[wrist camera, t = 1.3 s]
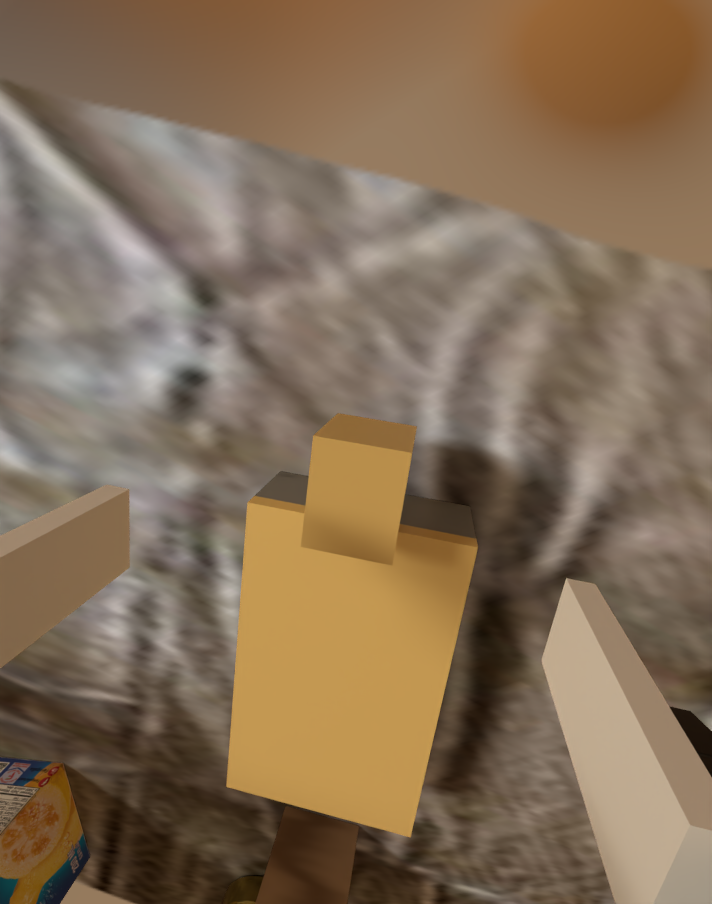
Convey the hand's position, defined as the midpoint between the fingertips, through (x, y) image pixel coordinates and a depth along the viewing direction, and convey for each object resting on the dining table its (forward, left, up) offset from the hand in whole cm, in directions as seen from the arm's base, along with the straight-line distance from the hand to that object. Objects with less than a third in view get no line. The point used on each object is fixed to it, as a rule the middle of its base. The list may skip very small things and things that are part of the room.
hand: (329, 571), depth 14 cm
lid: (0, -13, -11) cm, 17 cm away
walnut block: (0, -34, -15) cm, 37 cm away
